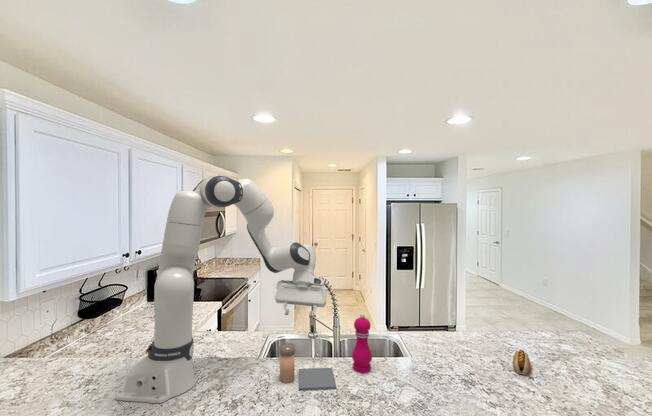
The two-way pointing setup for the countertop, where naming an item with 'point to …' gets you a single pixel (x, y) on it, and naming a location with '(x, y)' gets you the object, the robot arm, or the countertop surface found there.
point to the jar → (287, 362)
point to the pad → (316, 379)
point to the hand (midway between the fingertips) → (298, 315)
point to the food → (521, 362)
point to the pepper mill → (362, 346)
